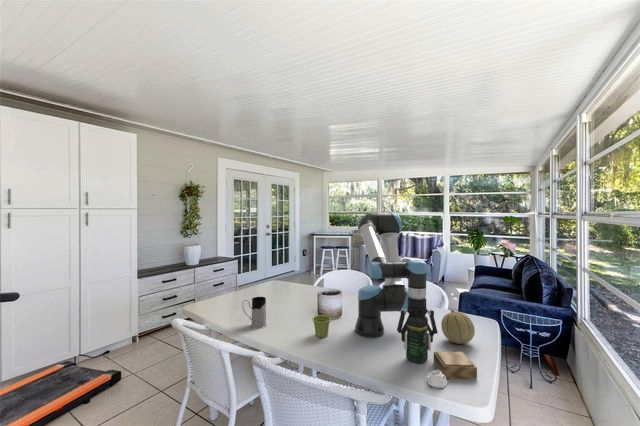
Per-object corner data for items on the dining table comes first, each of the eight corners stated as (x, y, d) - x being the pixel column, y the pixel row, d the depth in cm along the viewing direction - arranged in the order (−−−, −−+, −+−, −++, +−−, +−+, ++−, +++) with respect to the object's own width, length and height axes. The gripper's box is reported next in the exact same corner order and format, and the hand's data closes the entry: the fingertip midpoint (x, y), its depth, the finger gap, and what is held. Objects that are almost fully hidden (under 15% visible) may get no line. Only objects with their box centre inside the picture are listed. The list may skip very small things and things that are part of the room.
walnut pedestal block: (444, 378, 112) (444, 365, 112) (433, 362, 124) (433, 350, 124) (476, 379, 111) (476, 366, 111) (463, 363, 123) (463, 351, 123)
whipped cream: (441, 394, 103) (442, 382, 103) (422, 385, 108) (423, 373, 107) (449, 383, 109) (450, 371, 109) (431, 375, 114) (432, 363, 113)
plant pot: (317, 340, 145) (317, 323, 145) (309, 333, 153) (309, 317, 153) (334, 337, 149) (334, 319, 149) (325, 330, 157) (325, 314, 157)
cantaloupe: (473, 352, 132) (473, 318, 132) (438, 344, 140) (438, 313, 140) (476, 340, 145) (476, 309, 145) (444, 333, 153) (444, 304, 153)
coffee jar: (421, 366, 121) (421, 320, 121) (403, 359, 126) (403, 316, 126) (430, 357, 128) (430, 314, 128) (412, 351, 133) (413, 310, 133)
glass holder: (263, 329, 159) (263, 301, 159) (238, 327, 162) (238, 299, 162) (269, 323, 168) (269, 296, 168) (246, 321, 170) (246, 295, 170)
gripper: (392, 299, 124) (392, 352, 124) (446, 299, 123) (446, 353, 123) (389, 294, 131) (389, 344, 131) (439, 294, 130) (439, 345, 130)
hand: (417, 349), depth 127 cm, fingers closed on coffee jar, 9 cm apart
